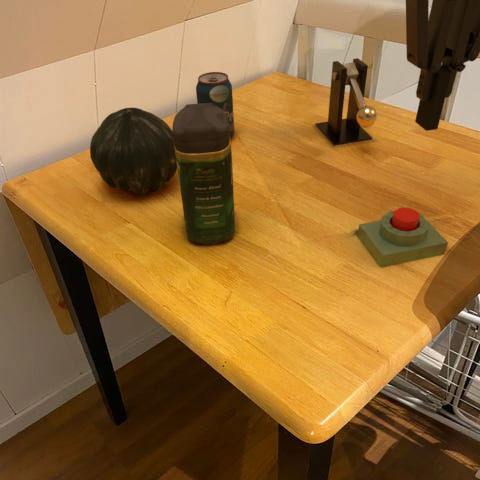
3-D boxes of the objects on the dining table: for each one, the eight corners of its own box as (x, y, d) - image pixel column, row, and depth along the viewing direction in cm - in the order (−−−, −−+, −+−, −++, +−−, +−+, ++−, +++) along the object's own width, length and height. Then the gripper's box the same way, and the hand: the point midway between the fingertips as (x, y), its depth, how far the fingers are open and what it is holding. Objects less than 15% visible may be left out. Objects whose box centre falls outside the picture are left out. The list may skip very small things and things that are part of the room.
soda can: (234, 145, 98) (231, 83, 89) (200, 147, 98) (193, 84, 89) (234, 130, 102) (231, 69, 94) (202, 132, 103) (195, 71, 94)
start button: (409, 215, 71) (412, 205, 70) (422, 229, 69) (424, 218, 68) (386, 220, 71) (389, 209, 70) (398, 234, 68) (401, 223, 67)
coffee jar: (237, 244, 74) (230, 125, 61) (186, 248, 74) (167, 129, 61) (234, 210, 81) (227, 95, 68) (186, 213, 81) (170, 99, 68)
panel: (416, 224, 76) (422, 202, 73) (444, 254, 70) (451, 231, 67) (357, 236, 74) (360, 213, 72) (380, 267, 69) (385, 244, 66)
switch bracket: (371, 144, 95) (383, 69, 85) (333, 151, 94) (340, 75, 84) (350, 124, 102) (359, 52, 92) (314, 129, 101) (319, 57, 91)
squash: (122, 127, 93) (83, 85, 78) (196, 136, 90) (169, 95, 75) (107, 199, 93) (64, 171, 78) (180, 211, 90) (150, 184, 75)
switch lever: (376, 130, 88) (382, 115, 84) (357, 133, 87) (363, 118, 84) (353, 74, 92) (358, 58, 88) (335, 77, 91) (340, 61, 88)
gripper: (444, -133, 39) (391, 146, 56) (583, -144, 41) (492, 130, 58) (399, -136, 44) (363, 120, 61) (525, -146, 46) (457, 106, 63)
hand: (426, 125), depth 59 cm, fingers closed
